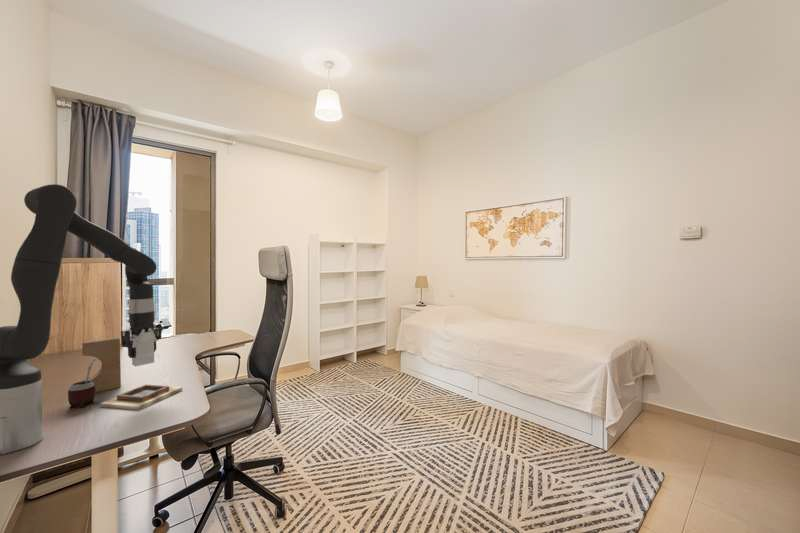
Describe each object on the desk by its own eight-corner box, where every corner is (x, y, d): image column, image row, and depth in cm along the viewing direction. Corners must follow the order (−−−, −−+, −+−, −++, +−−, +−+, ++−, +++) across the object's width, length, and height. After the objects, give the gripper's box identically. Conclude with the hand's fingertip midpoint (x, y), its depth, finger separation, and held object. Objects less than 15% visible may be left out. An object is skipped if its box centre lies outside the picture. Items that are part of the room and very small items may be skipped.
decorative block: (83, 395, 126) (82, 343, 126) (83, 391, 130) (82, 341, 130) (121, 387, 134) (119, 338, 134) (119, 383, 138) (118, 336, 138)
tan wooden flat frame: (137, 410, 113) (137, 402, 113) (100, 406, 116) (100, 398, 116) (182, 390, 131) (182, 383, 131) (149, 387, 134) (148, 380, 134)
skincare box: (151, 360, 127) (150, 329, 127) (154, 362, 124) (154, 331, 124) (131, 364, 122) (130, 332, 122) (134, 366, 119) (133, 334, 119)
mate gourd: (68, 411, 112) (67, 368, 112) (68, 405, 118) (67, 363, 118) (98, 404, 118) (97, 363, 117) (96, 398, 123) (95, 358, 123)
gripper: (151, 307, 131) (152, 349, 131) (113, 313, 117) (114, 359, 117) (167, 308, 129) (168, 350, 129) (130, 313, 115) (131, 360, 115)
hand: (142, 354), depth 123 cm, fingers closed on skincare box, 7 cm apart
